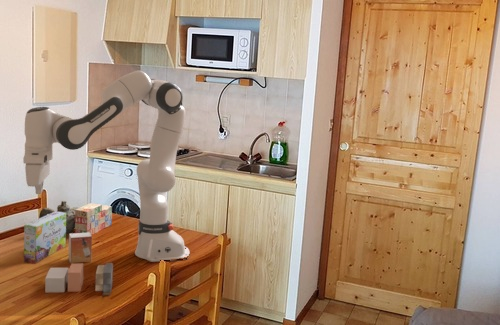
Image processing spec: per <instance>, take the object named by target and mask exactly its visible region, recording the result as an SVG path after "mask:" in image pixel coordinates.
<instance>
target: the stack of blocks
mask: <svg viewBox="0 0 500 325" xmlns="http://www.w3.org/2000/svg"><path fill="white" fill-rule="evenodd" d="M112 211H113V206H111V205H106V204H105V205H104V204H98V203H92V202H90V203H87V204H85V205H83V206H81V207H78V209H76V210H75V228H74V233H87V232H90V234H91V236H93V235H95V234H96V233H99V232H100V231H102V230H103V229H106V228H107V227H109V226H112V224H113V212H112Z"/></svg>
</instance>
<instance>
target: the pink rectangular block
mask: <svg viewBox="0 0 500 325" xmlns="http://www.w3.org/2000/svg"><path fill="white" fill-rule="evenodd" d="M68 268H69V271H68V284H67V293H70V292H72V293H73V292H77V293H78V292H81V290H82V287H83V284H84V263H70V266H69V267H68Z"/></svg>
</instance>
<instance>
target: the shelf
mask: <svg viewBox="0 0 500 325" xmlns="http://www.w3.org/2000/svg"><path fill="white" fill-rule="evenodd" d="M113 268H114V262H113V263H112V262H109V263H108V262H107V263H105V264H97V267H96V272H95V287H94V288H95V292H102V295H101V296H111V294H112V288H113V279H114V278H113V277H114V276H113V274H114V273H113V272H114V269H113Z"/></svg>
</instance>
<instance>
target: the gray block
mask: <svg viewBox="0 0 500 325" xmlns="http://www.w3.org/2000/svg"><path fill="white" fill-rule="evenodd" d="M69 268H70V267H50V268H49V270H48V272H47V274H46V276H45V278H44V279H45V280H44V282H45V283H44V284H45V287H44V288H45V289H44V290H45V292H44V293H65V292H66V288H67V287H68V271H69Z"/></svg>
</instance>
